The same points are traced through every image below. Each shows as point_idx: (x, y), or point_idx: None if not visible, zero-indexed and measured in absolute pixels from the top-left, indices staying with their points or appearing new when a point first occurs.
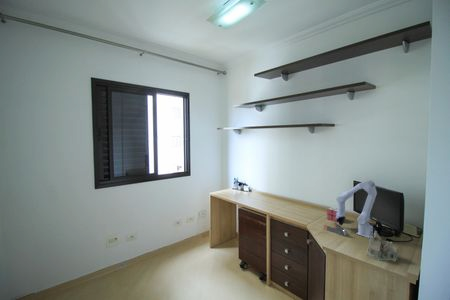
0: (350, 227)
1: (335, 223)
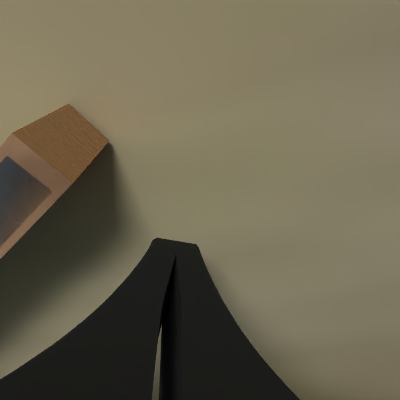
0: (297, 347)
1: (2, 187)
